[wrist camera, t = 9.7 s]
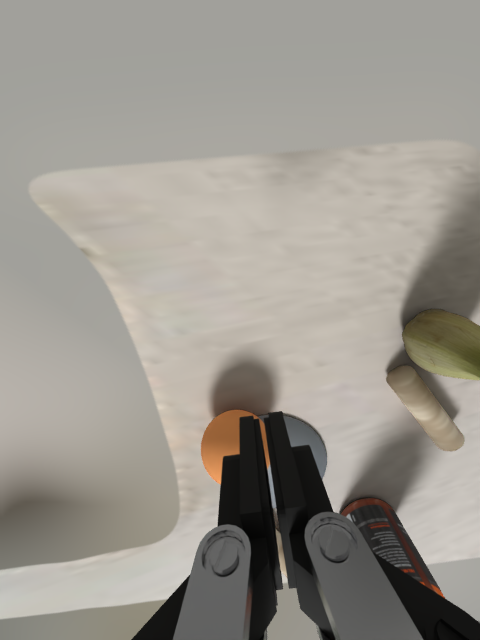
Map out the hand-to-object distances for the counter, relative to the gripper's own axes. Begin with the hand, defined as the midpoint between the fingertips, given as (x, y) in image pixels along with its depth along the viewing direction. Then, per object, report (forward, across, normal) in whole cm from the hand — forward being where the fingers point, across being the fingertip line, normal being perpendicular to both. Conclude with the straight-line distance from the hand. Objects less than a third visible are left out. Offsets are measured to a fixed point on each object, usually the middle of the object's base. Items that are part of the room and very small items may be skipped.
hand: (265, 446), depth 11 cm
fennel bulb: (+14, -15, +2) cm, 20 cm away
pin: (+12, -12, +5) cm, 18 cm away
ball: (+10, +3, +9) cm, 14 cm away
